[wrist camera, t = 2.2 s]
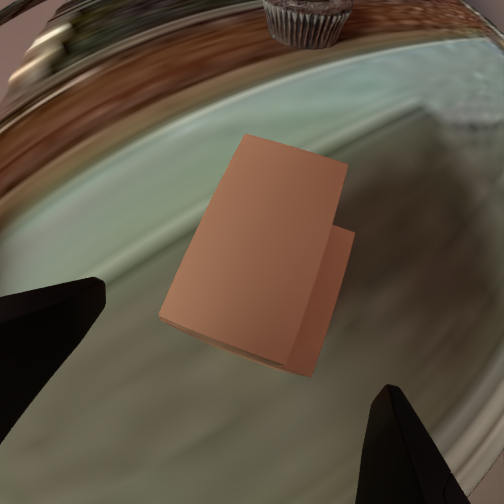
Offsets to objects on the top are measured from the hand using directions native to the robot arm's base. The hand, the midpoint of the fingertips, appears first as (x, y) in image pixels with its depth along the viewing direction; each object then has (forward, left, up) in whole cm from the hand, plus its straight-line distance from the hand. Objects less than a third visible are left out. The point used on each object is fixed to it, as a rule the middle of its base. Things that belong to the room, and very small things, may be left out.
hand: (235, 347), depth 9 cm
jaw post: (+2, +1, -10) cm, 10 cm away
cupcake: (+27, +20, -10) cm, 35 cm away
